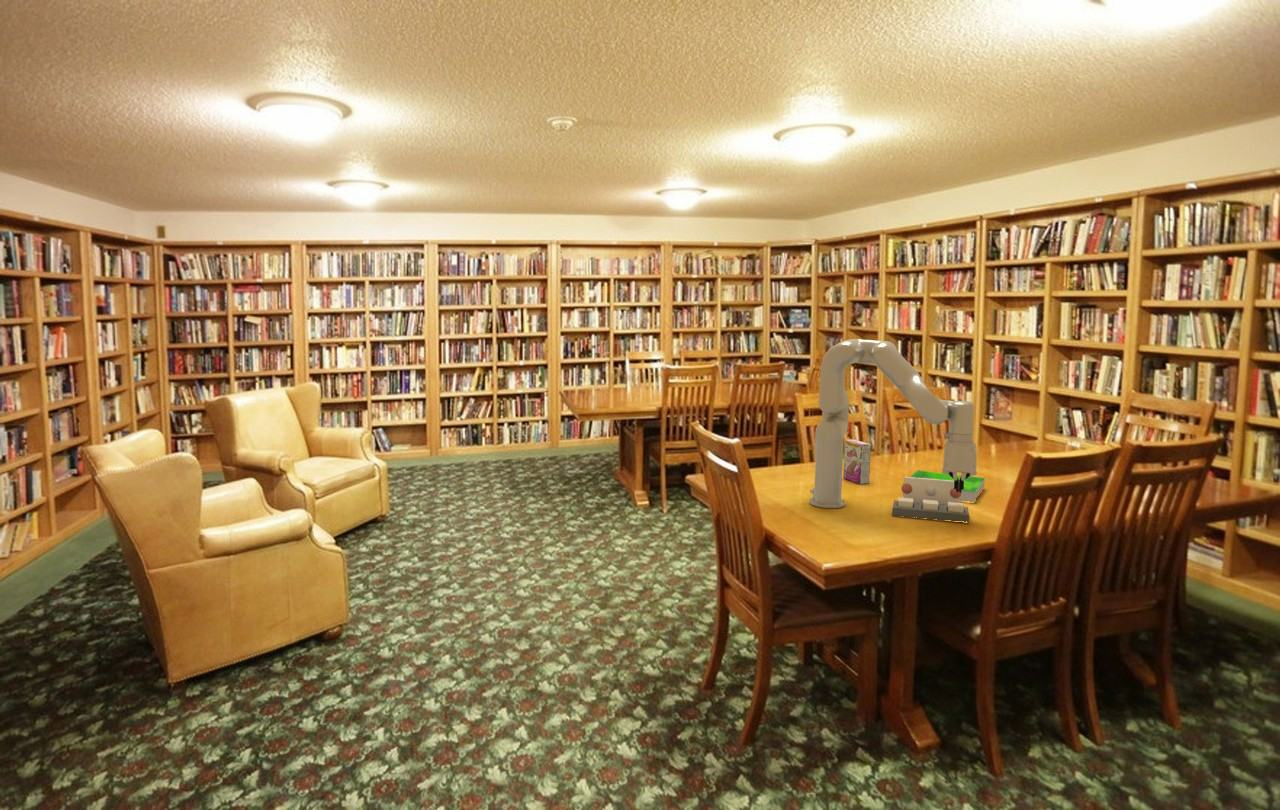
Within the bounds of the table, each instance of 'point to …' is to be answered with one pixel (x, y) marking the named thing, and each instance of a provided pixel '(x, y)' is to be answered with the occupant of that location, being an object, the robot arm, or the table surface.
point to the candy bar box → (857, 461)
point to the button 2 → (955, 507)
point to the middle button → (930, 504)
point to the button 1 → (905, 502)
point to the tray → (971, 484)
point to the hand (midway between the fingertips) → (958, 491)
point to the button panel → (930, 491)
